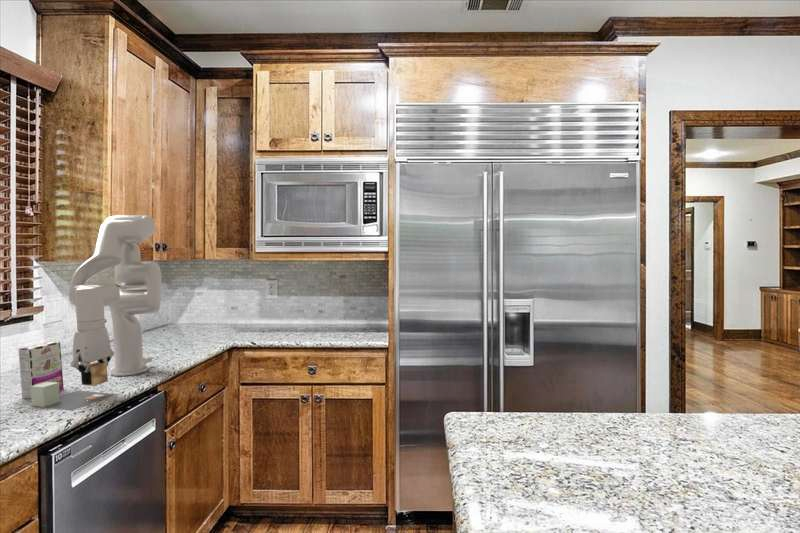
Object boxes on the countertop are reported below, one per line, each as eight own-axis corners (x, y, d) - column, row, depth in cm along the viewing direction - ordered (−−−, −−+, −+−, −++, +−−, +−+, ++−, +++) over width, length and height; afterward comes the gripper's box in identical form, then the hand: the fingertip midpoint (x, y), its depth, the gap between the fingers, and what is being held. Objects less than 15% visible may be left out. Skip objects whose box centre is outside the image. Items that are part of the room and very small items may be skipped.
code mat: (77, 391, 164) (77, 390, 164) (117, 394, 159) (117, 394, 159) (29, 406, 148) (29, 405, 148) (71, 411, 143) (71, 410, 143)
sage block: (48, 400, 154) (46, 381, 153) (59, 401, 152) (58, 382, 152) (31, 405, 149) (30, 386, 148) (44, 406, 147) (42, 387, 147)
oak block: (95, 380, 160) (94, 362, 160) (107, 381, 159) (106, 363, 158) (81, 384, 155) (80, 366, 155) (94, 386, 154) (92, 367, 153)
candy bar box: (51, 388, 168) (49, 341, 167) (64, 389, 167) (61, 341, 166) (20, 398, 157) (17, 348, 156) (33, 399, 156) (30, 348, 155)
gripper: (105, 320, 165) (108, 373, 166) (56, 330, 148) (60, 388, 150) (122, 320, 162) (126, 374, 164) (75, 331, 146) (79, 390, 148)
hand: (94, 380), depth 157 cm, fingers closed on oak block, 5 cm apart
